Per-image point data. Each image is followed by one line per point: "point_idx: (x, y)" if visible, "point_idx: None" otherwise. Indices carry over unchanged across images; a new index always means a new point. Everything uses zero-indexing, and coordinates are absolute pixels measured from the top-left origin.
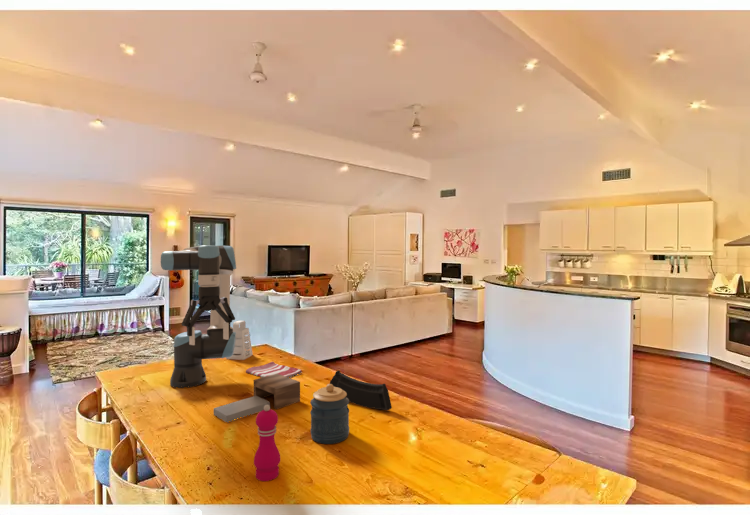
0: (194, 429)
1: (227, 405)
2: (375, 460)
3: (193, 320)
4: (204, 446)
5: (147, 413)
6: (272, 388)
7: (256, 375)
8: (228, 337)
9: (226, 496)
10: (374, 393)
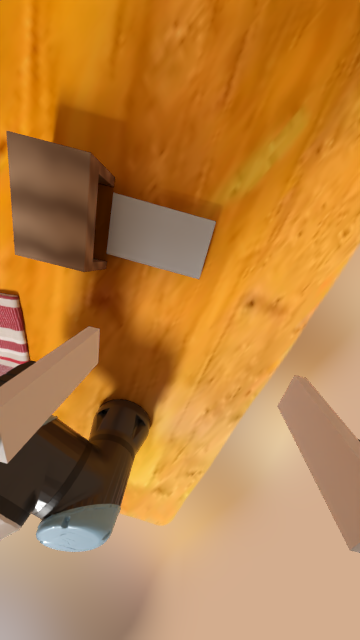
0: (262, 255)
1: (175, 265)
2: None
3: None
4: (315, 171)
5: (242, 375)
6: (90, 176)
7: (27, 353)
8: (83, 331)
9: None
10: None
